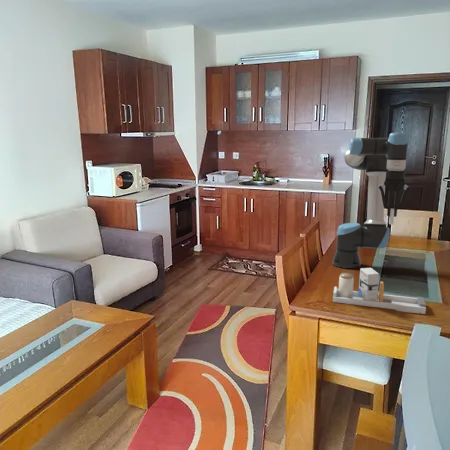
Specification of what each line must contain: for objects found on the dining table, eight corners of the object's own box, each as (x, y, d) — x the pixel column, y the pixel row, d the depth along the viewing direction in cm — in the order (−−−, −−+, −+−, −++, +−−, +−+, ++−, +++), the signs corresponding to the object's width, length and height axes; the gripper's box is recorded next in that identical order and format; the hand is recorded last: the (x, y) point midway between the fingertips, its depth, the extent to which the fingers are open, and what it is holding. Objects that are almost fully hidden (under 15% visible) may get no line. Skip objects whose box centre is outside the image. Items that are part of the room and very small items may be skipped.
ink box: (357, 293, 173) (359, 267, 171) (368, 292, 174) (370, 267, 171) (366, 301, 165) (368, 274, 163) (377, 300, 166) (379, 273, 163)
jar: (338, 295, 176) (339, 271, 174) (352, 296, 175) (354, 273, 172) (337, 300, 171) (339, 276, 169) (352, 302, 169) (354, 277, 167)
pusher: (378, 299, 172) (380, 281, 170) (390, 300, 170) (392, 282, 168) (379, 305, 165) (381, 287, 163) (391, 306, 164) (393, 288, 162)
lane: (334, 294, 179) (334, 285, 178) (421, 304, 168) (422, 294, 167) (332, 303, 170) (333, 293, 169) (425, 314, 158) (426, 304, 158)
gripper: (379, 170, 167) (375, 224, 172) (413, 170, 163) (408, 226, 168) (378, 168, 174) (374, 221, 179) (411, 169, 170) (406, 223, 175)
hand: (391, 223), depth 174 cm, fingers closed
